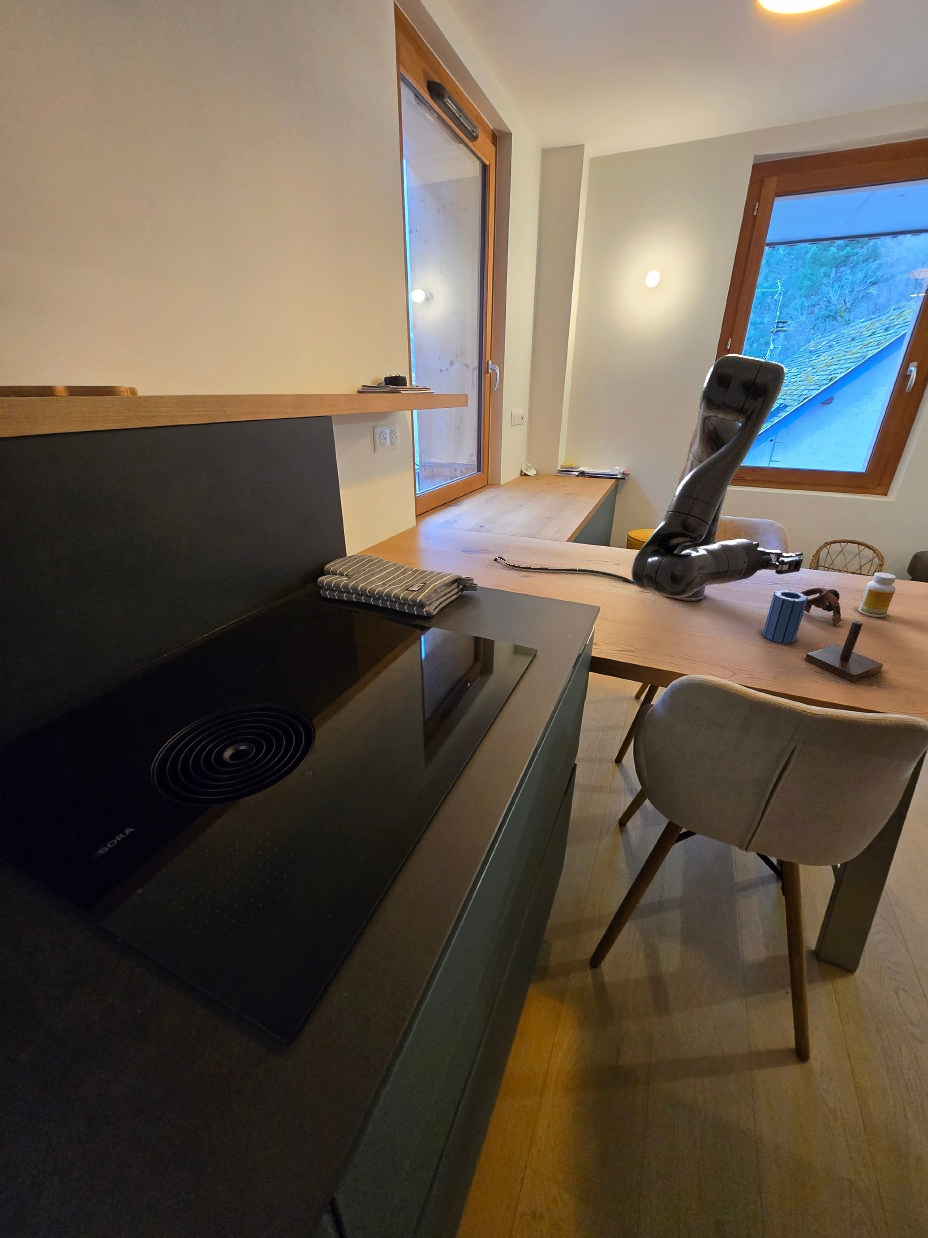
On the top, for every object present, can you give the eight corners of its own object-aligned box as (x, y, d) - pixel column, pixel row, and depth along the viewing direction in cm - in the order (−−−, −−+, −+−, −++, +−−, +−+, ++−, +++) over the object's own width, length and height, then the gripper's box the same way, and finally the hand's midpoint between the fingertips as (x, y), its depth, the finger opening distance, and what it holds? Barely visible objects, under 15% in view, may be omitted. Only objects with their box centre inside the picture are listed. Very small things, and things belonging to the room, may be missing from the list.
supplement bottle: (890, 618, 116) (905, 579, 112) (864, 616, 117) (878, 578, 113) (877, 609, 121) (892, 571, 117) (853, 607, 122) (866, 570, 118)
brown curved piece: (833, 633, 111) (820, 601, 110) (791, 634, 119) (778, 604, 118) (859, 607, 115) (847, 576, 114) (816, 610, 124) (804, 582, 123)
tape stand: (851, 681, 92) (868, 637, 88) (804, 660, 100) (818, 617, 96) (880, 671, 95) (898, 627, 91) (833, 650, 103) (847, 609, 99)
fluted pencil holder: (766, 641, 107) (778, 599, 103) (760, 629, 112) (771, 588, 108) (797, 645, 105) (811, 602, 101) (790, 632, 110) (802, 591, 106)
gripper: (770, 550, 82) (822, 541, 89) (696, 533, 93) (747, 526, 101) (758, 593, 85) (810, 581, 92) (688, 571, 96) (739, 561, 103)
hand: (777, 552), depth 96 cm, fingers open, 8 cm apart
